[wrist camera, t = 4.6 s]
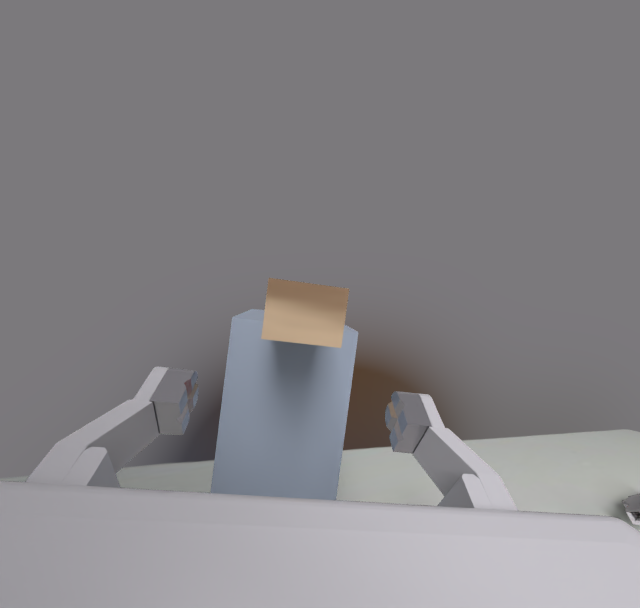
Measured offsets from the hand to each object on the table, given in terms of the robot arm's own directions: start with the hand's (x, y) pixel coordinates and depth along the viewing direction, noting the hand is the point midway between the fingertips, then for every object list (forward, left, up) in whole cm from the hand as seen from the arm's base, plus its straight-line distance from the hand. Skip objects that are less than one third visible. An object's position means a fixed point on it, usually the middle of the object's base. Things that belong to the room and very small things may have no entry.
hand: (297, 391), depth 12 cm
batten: (-11, +10, +2) cm, 14 cm away
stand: (-13, +11, -24) cm, 30 cm away
